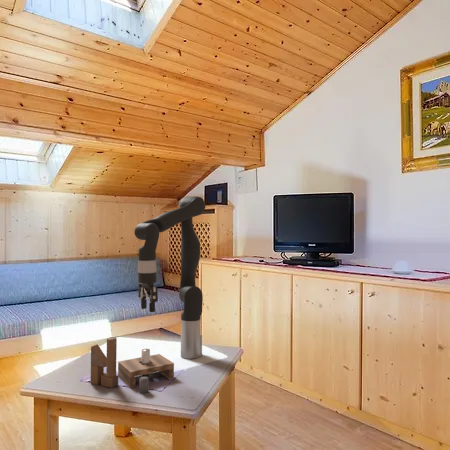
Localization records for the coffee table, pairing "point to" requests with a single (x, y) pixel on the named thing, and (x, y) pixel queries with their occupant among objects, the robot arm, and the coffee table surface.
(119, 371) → the brown block with hole
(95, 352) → the brown angled frame
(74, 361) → the coffee table surface
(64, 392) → the coffee table surface
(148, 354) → the long pin
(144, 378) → the short pin
